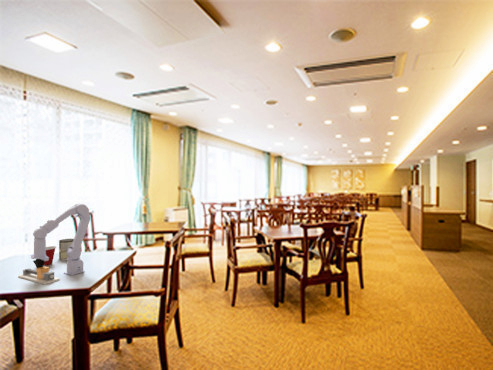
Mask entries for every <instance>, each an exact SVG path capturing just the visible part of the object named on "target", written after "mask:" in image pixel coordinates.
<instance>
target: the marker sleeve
mask: <svg viewBox="0 0 493 370" xmlns="http://www.w3.org/2000/svg"><path fill="white" fill-rule="evenodd" d="M35 268H36V267H35ZM35 270H36V272H37V278H40V279H43V278H42V273H45V272H50V267H49V266H43V267H40V268H36V269H35Z"/></svg>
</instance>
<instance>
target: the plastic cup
mask: <svg viewBox="0 0 493 370" xmlns="http://www.w3.org/2000/svg"><path fill="white" fill-rule="evenodd" d="M56 248H57V246H56V245H53V246H46V256H47V257H49V260H48V261H45V263H44V265H43V267H44V266H45V267H47V266H50V265H53V260H54V256H55V251H56Z"/></svg>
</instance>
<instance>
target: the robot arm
mask: <svg viewBox="0 0 493 370" xmlns="http://www.w3.org/2000/svg"><path fill="white" fill-rule="evenodd" d="M74 215H75V216H76V215H77V216H79V218H80V222H79V224H78V227H77V229H76V232H75V235H74V237H73V239H74V240H73V243H72V244H71V245H70V248H69V249H68V250H67V252H66V254H67V256H68V258H67V260H66V271H63V274H66V275H69V276H75V275H78V274H82V273H85V270H84V261H83V260H82V259H81V254H82V252H81V250H82V244H83V240H84V237H85V235H86V233H87V229H88V227H89V224H90V221H91V219H92V217H91V214H90V209H89V207H88V206H87V205H86V204H83V203H76V204H74V206H70V207H69V208H68V209H67V210H65V211H64V212H63V213H61V214H60V215H59V216H57V217H56V218H54V219H47V220H46V222H45V224H43V225H40V226H39V228H36V229H35V230H34V231H33V233H32V235H33V254H31V255H30V257H31V258H30V259H32V262H33V263H34V265H35V268H40V267H44V266H43V265H44V263H45V261H48V260H49V257H47V256H46V247H47V243H46V242H47V241H46V237H47V236H48V234H50V233H52V231H54V230H55V229H57V228H58V227H59V224H60V223H61V222H63V221H64V220H67V218H69V217H70V216H74ZM34 259H35V260H34Z"/></svg>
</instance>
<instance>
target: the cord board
mask: <svg viewBox="0 0 493 370" xmlns="http://www.w3.org/2000/svg"><path fill="white" fill-rule="evenodd" d="M17 276H18V277H17V278H19V279H23V280H27V281H30V282H34V283H37V284H41V285H47V284H52V283H55V282H58V281H60V280H61V279H60V277H55V272H54V271H49V272H45V273H42V278H43V279H40V278H37V272H36V269H31V268H26V269H23V270H22V274H19V275H17Z"/></svg>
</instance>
